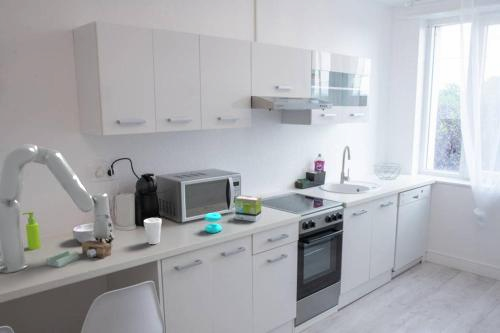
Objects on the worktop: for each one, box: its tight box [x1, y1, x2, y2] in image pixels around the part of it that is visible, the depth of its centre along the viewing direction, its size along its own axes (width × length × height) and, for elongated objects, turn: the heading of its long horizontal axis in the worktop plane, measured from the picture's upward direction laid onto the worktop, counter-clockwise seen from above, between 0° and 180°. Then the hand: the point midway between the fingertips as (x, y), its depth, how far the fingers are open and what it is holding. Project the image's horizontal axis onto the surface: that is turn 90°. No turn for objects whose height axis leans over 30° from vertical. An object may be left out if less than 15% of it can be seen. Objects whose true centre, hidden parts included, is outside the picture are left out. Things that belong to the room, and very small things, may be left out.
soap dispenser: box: [22, 211, 41, 251], centre depth 213 cm, size 6×7×20 cm
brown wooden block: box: [81, 240, 112, 259], centre depth 203 cm, size 5×14×6 cm, turn 67°
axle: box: [86, 242, 113, 259], centre depth 205 cm, size 14×4×4 cm, turn 156°
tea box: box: [234, 194, 262, 223], centre depth 261 cm, size 15×10×15 cm, turn 67°
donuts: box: [204, 212, 223, 234], centre depth 238 cm, size 10×10×10 cm
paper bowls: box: [72, 222, 97, 244], centre depth 225 cm, size 15×15×8 cm
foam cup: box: [143, 217, 163, 245], centre depth 218 cm, size 10×9×13 cm
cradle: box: [45, 250, 80, 268], centre depth 195 cm, size 12×9×3 cm
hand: (104, 250), depth 208 cm, fingers closed on axle, 4 cm apart
